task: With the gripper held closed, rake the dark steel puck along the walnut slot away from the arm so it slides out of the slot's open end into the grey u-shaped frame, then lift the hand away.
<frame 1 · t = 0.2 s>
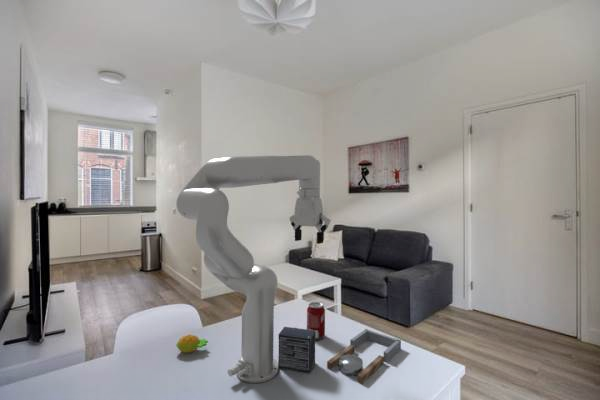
hand: (308, 241, 107), 36 cm above the table, tool pointing down, fingers open, 9 cm apart
soda can: (315, 337, 112), on the table
toy pineapple: (192, 351, 101), on the table
small box: (297, 365, 93), on the table
grey u-shaped frame: (374, 349, 103), on the table
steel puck: (350, 370, 91), on the table
walnut slot: (355, 365, 93), on the table
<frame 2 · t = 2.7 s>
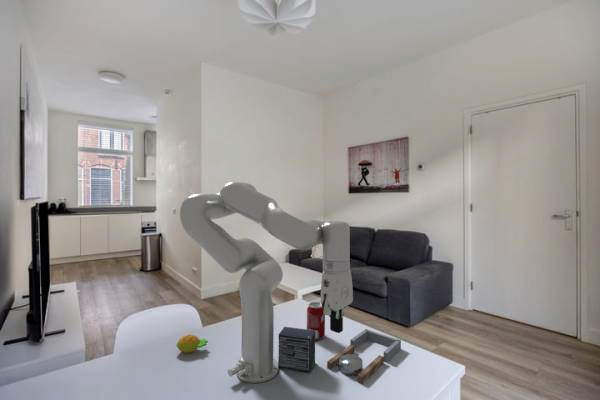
hand: (336, 330, 84), 15 cm above the table, tool pointing down, fingers closed
nothing on the table moved.
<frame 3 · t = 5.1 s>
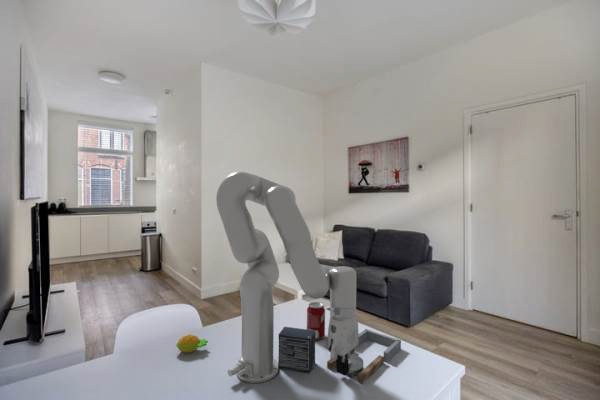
hand: (342, 372, 87), 1 cm above the table, tool pointing down, fingers closed
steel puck: (351, 370, 91), on the table, touching gripper
everything else where it was.
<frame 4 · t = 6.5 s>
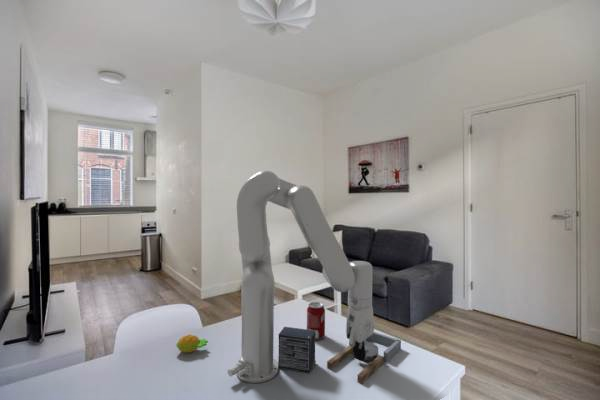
hand: (359, 358, 95), 1 cm above the table, tool pointing down, fingers closed
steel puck: (367, 356, 99), on the table, touching gripper
everything else where it was.
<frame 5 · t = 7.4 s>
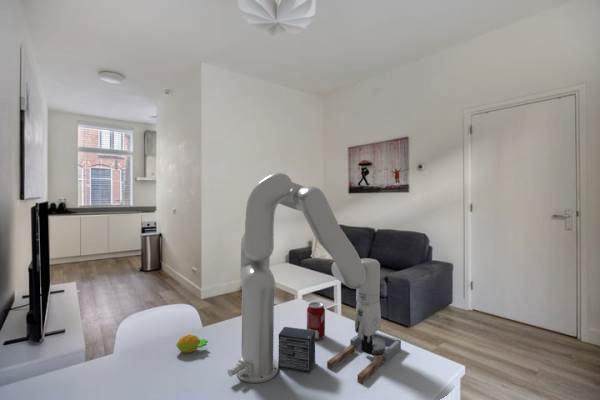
hand: (366, 351, 99), 1 cm above the table, tool pointing down, fingers closed
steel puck: (374, 350, 103), on the table, touching gripper
everything else where it was.
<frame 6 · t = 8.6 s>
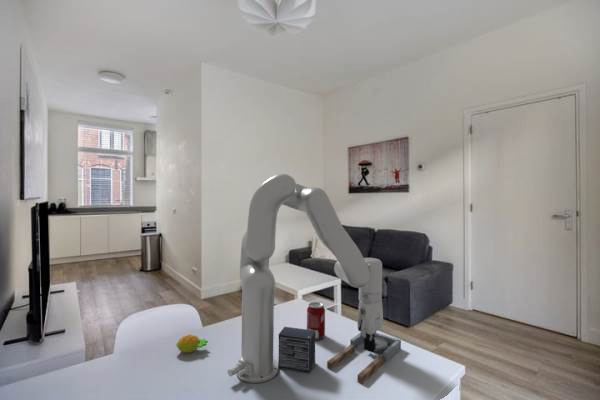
hand: (369, 350, 100), 1 cm above the table, tool pointing down, fingers closed
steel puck: (377, 348, 104), on the table
everything else where it was.
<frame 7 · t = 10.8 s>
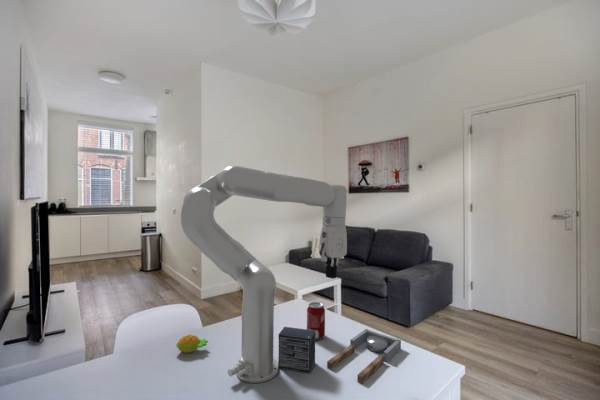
hand: (331, 277, 99), 26 cm above the table, tool pointing down, fingers closed
nothing on the table moved.
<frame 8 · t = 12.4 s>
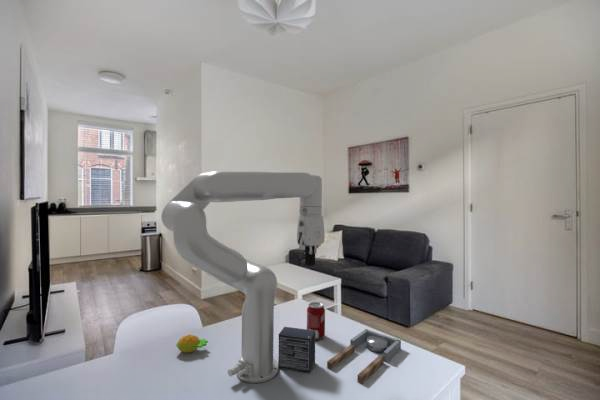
hand: (310, 265, 102), 29 cm above the table, tool pointing down, fingers closed
nothing on the table moved.
at the end: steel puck inside the target area (0.5 cm from its centre), on the table; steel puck moved 17.2 cm from its start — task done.
